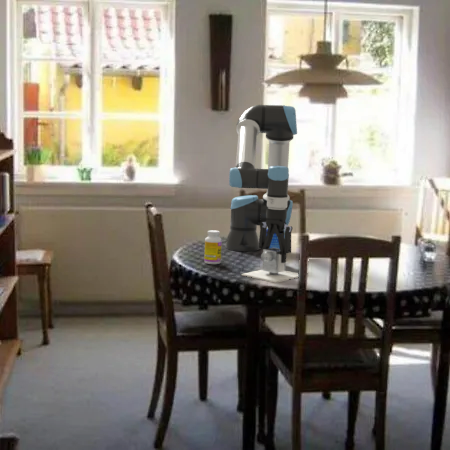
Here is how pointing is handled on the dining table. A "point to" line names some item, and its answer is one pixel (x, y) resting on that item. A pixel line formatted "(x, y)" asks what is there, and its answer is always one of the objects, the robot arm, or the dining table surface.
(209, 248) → the supplement bottle
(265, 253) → the elbow sleeve
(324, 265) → the dining table surface
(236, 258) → the dining table surface
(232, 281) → the dining table surface
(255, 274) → the panel
